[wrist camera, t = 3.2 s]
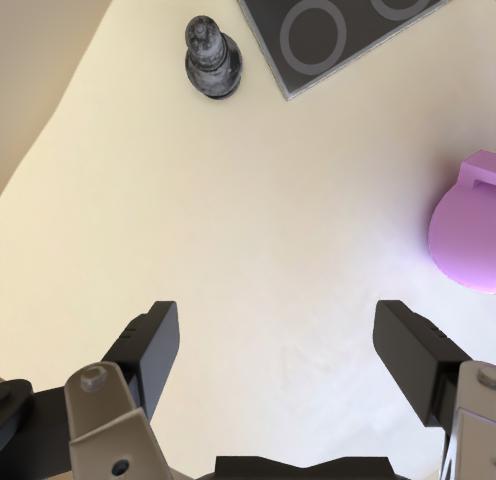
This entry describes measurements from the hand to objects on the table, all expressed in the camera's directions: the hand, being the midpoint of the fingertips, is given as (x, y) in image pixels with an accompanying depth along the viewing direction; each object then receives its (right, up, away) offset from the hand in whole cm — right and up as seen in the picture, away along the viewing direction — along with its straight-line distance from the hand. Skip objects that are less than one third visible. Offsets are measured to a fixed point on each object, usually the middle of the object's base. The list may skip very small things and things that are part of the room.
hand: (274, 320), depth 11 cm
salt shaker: (-5, +22, +21) cm, 31 cm away
